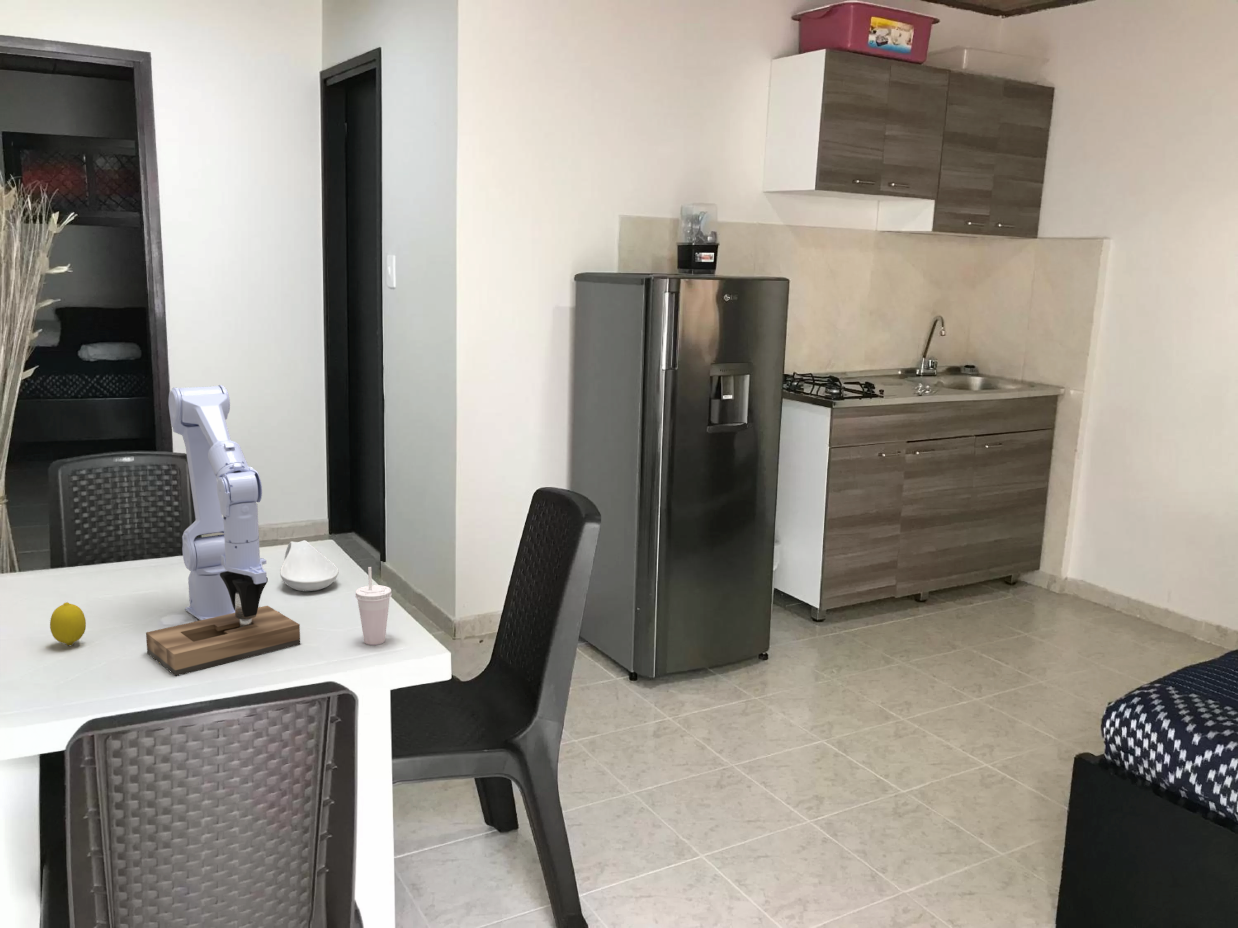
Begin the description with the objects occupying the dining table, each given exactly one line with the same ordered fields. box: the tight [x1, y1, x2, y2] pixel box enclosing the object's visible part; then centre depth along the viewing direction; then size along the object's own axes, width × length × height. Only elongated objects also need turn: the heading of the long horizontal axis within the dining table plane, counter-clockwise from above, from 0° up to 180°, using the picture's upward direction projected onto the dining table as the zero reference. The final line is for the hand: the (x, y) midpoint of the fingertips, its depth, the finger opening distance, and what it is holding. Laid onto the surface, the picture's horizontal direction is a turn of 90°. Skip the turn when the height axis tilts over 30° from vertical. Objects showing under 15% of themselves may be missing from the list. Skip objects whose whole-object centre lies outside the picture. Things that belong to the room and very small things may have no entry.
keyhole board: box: [145, 605, 301, 676], centre depth 180 cm, size 13×22×4 cm, turn 133°
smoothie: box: [355, 566, 392, 646], centre depth 184 cm, size 6×6×14 cm
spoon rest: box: [279, 539, 339, 592], centre depth 219 cm, size 24×12×7 cm, turn 28°
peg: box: [235, 591, 256, 629], centre depth 182 cm, size 5×5×8 cm
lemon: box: [49, 601, 87, 646], centre depth 179 cm, size 6×6×8 cm
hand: (245, 612), depth 182 cm, fingers closed on peg, 3 cm apart
